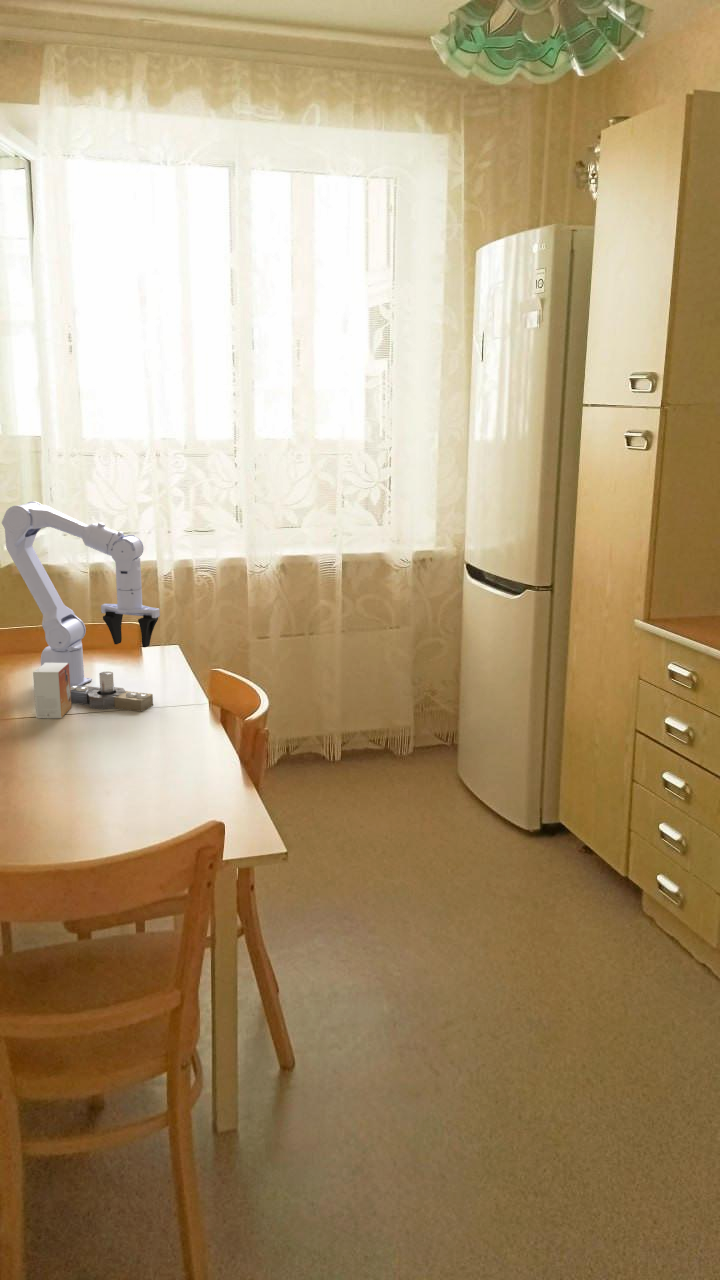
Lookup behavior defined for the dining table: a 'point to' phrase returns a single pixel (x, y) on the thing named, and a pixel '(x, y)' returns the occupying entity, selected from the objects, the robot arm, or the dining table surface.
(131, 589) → the robot arm
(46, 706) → the small box
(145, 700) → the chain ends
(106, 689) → the pin
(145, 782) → the dining table surface
